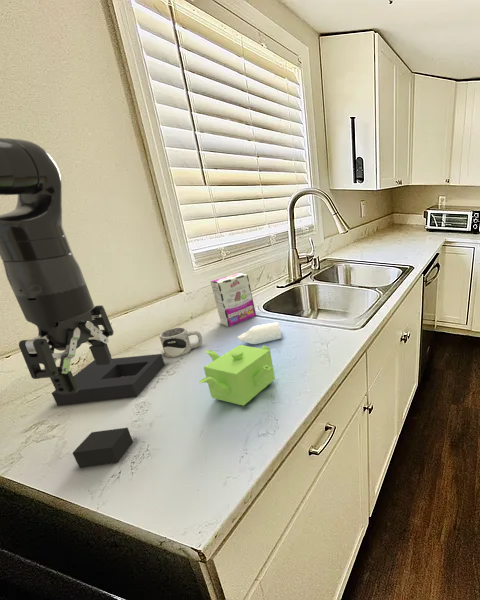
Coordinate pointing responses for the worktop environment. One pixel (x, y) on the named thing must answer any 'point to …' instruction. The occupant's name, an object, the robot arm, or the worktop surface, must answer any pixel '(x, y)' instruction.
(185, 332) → the mug
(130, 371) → the base pad
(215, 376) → the kettle
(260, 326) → the white tapered cylinder
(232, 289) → the candy bar box
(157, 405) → the worktop surface
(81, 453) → the small pad
